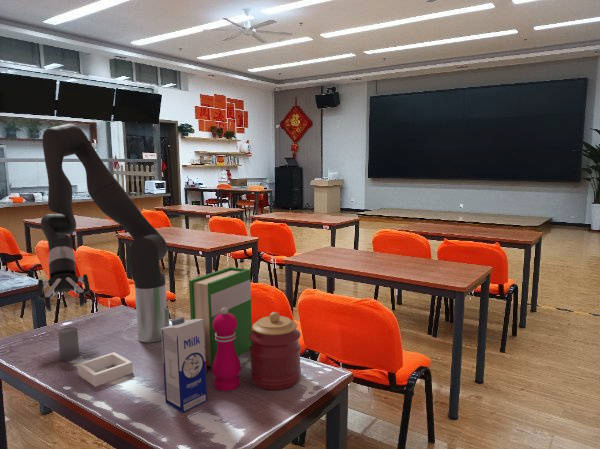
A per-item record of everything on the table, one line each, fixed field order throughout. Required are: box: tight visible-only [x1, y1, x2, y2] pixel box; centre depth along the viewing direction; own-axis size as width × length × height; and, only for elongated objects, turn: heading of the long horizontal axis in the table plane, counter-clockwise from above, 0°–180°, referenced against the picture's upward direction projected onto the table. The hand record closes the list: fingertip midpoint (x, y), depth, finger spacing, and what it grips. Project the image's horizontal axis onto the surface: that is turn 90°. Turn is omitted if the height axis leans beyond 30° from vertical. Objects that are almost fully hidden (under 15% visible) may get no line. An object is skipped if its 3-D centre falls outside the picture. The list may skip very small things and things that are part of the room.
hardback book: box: [188, 266, 253, 372], centre depth 129 cm, size 18×7×24 cm, turn 151°
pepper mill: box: [211, 308, 242, 392], centre depth 112 cm, size 7×7×20 cm
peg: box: [57, 326, 80, 362], centre depth 131 cm, size 5×5×8 cm
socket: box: [77, 351, 134, 388], centre depth 120 cm, size 10×10×3 cm
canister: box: [249, 311, 302, 391], centre depth 115 cm, size 13×13×18 cm
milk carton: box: [161, 317, 208, 414], centre depth 104 cm, size 7×7×20 cm
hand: (65, 307), depth 138 cm, fingers open, 8 cm apart
